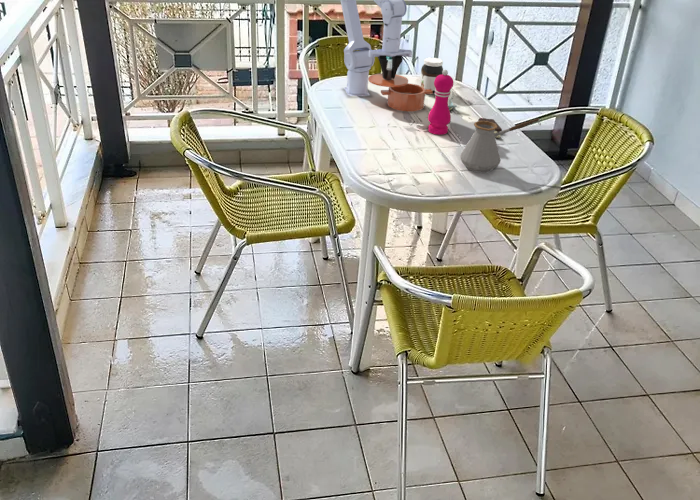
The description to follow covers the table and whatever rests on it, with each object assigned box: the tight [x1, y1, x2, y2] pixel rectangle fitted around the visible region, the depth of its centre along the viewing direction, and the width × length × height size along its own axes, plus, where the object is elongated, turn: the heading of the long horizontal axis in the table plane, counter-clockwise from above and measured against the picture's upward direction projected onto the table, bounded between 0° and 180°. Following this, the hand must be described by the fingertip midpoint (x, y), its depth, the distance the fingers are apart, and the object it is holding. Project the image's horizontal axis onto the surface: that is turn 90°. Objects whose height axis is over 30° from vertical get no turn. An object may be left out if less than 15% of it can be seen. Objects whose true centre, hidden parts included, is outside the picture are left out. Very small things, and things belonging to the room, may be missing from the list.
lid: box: [368, 67, 409, 88], centre depth 229 cm, size 14×14×5 cm
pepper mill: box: [427, 69, 454, 136], centre depth 213 cm, size 7×7×20 cm
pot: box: [380, 82, 433, 112], centre depth 235 cm, size 13×18×6 cm
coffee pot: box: [459, 118, 542, 174], centre depth 191 cm, size 21×12×15 cm, turn 95°
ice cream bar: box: [477, 117, 503, 139], centre depth 220 cm, size 5×2×15 cm
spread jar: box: [419, 57, 452, 95], centre depth 250 cm, size 12×11×12 cm
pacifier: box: [448, 90, 458, 111], centre depth 236 cm, size 7×6×6 cm
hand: (388, 77), depth 230 cm, fingers closed on lid, 2 cm apart
